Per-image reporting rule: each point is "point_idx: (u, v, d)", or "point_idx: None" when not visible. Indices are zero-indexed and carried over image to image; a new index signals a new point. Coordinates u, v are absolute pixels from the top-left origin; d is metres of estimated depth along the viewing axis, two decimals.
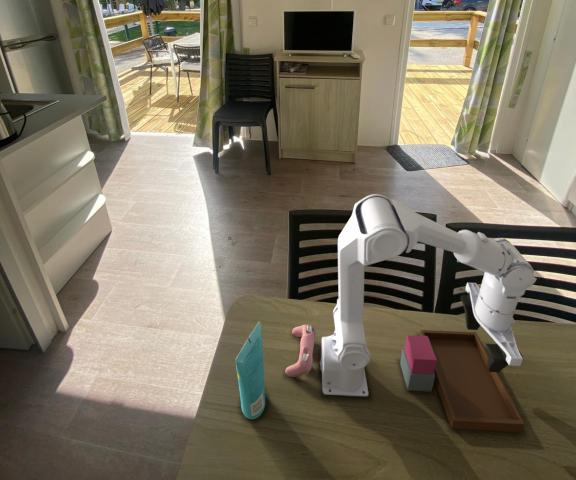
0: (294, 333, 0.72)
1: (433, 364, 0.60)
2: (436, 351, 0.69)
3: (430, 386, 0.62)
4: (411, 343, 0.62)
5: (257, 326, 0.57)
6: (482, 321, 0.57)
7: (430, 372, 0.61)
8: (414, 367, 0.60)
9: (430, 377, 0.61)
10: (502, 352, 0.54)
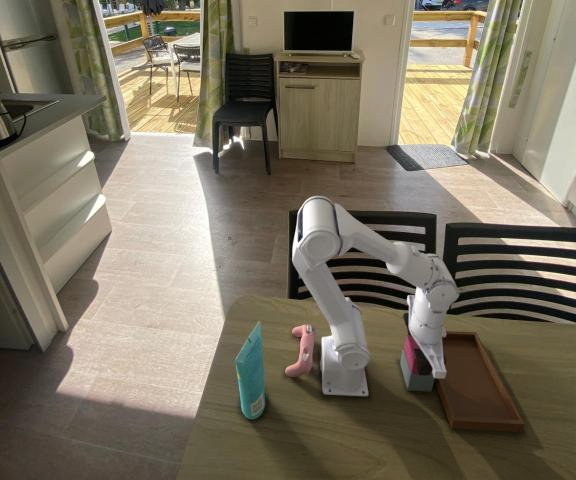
0: (294, 333, 0.72)
1: None
2: None
3: (430, 386, 0.62)
4: (411, 343, 0.62)
5: (257, 326, 0.57)
6: (414, 334, 0.59)
7: None
8: (414, 367, 0.60)
9: (430, 377, 0.61)
10: None
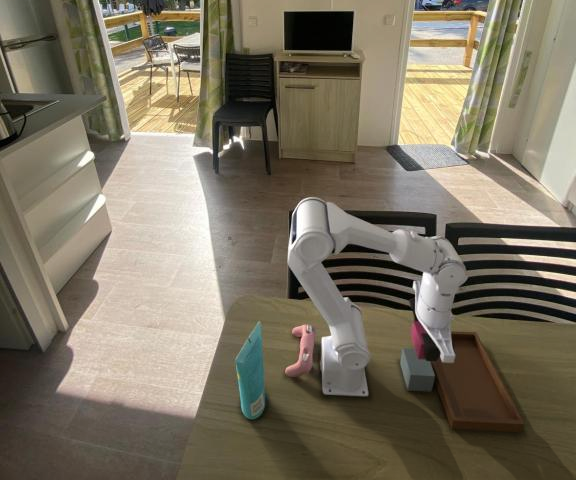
0: (294, 333, 0.72)
1: None
2: None
3: (430, 386, 0.62)
4: (418, 328, 0.61)
5: (257, 326, 0.57)
6: (421, 318, 0.57)
7: None
8: (421, 353, 0.59)
9: (430, 377, 0.61)
10: None
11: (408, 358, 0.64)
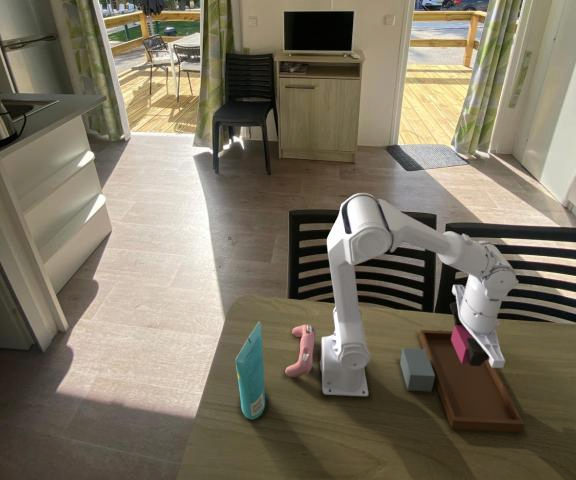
0: (294, 333, 0.72)
1: None
2: (436, 351, 0.69)
3: (430, 386, 0.62)
4: (460, 333, 0.61)
5: (257, 326, 0.57)
6: (466, 323, 0.57)
7: None
8: (465, 357, 0.59)
9: (430, 377, 0.61)
10: None
11: (408, 358, 0.64)
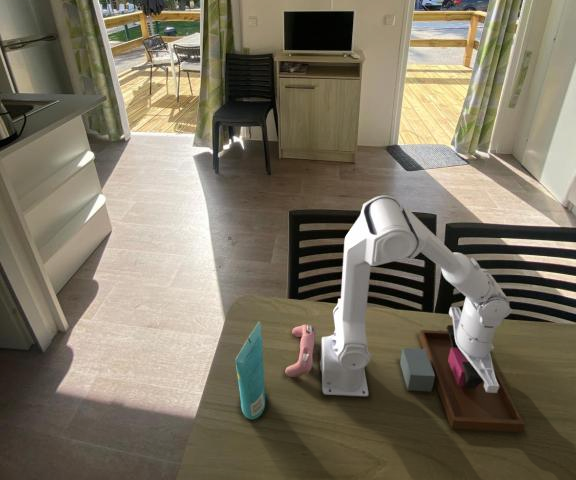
0: (294, 333, 0.72)
1: None
2: (436, 351, 0.69)
3: (430, 386, 0.62)
4: (457, 355, 0.63)
5: (257, 326, 0.57)
6: (462, 347, 0.59)
7: None
8: (461, 380, 0.61)
9: (430, 377, 0.61)
10: None
11: (408, 358, 0.64)
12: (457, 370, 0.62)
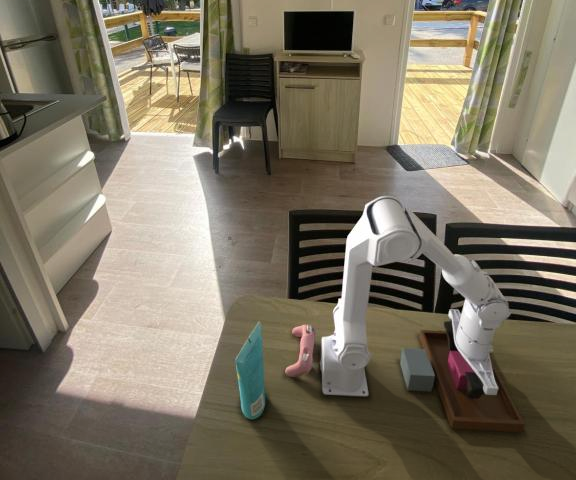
0: (294, 333, 0.72)
1: None
2: (436, 351, 0.69)
3: (430, 386, 0.62)
4: (456, 359, 0.63)
5: (257, 326, 0.57)
6: (462, 349, 0.60)
7: None
8: (460, 383, 0.61)
9: (430, 377, 0.61)
10: (480, 381, 0.56)
11: (408, 358, 0.64)
12: (456, 374, 0.62)
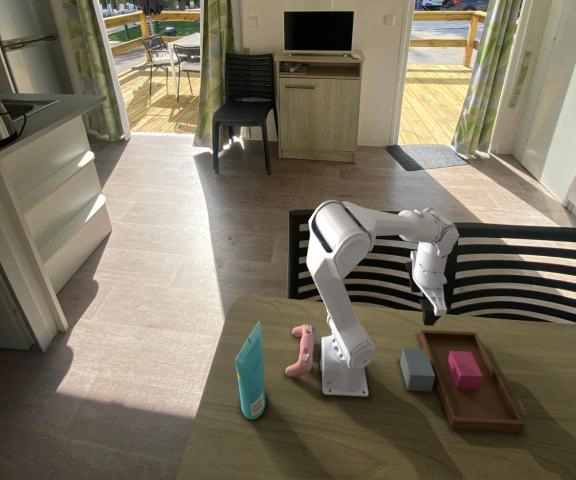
0: (294, 333, 0.72)
1: (479, 380, 0.61)
2: (436, 351, 0.69)
3: (430, 386, 0.62)
4: (456, 359, 0.63)
5: (257, 326, 0.57)
6: (418, 280, 0.65)
7: (475, 388, 0.62)
8: (460, 383, 0.61)
9: (430, 377, 0.61)
10: (432, 305, 0.62)
11: (408, 358, 0.64)
12: (456, 374, 0.62)
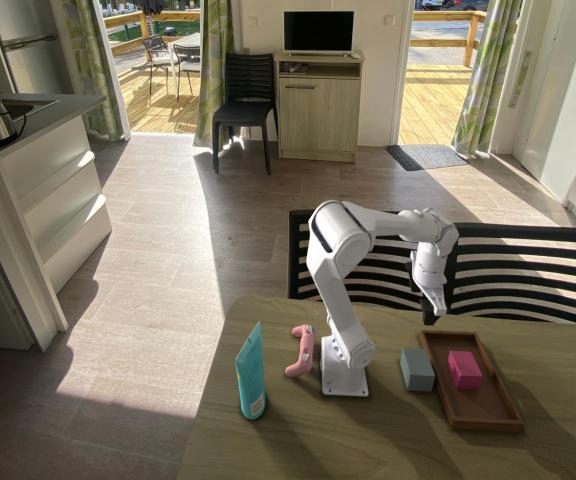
0: (294, 333, 0.72)
1: (479, 380, 0.61)
2: (436, 351, 0.69)
3: (430, 386, 0.62)
4: (456, 359, 0.63)
5: (257, 326, 0.57)
6: (418, 280, 0.65)
7: (475, 388, 0.62)
8: (460, 383, 0.61)
9: (430, 377, 0.61)
10: (432, 305, 0.62)
11: (408, 358, 0.64)
12: (456, 374, 0.62)
